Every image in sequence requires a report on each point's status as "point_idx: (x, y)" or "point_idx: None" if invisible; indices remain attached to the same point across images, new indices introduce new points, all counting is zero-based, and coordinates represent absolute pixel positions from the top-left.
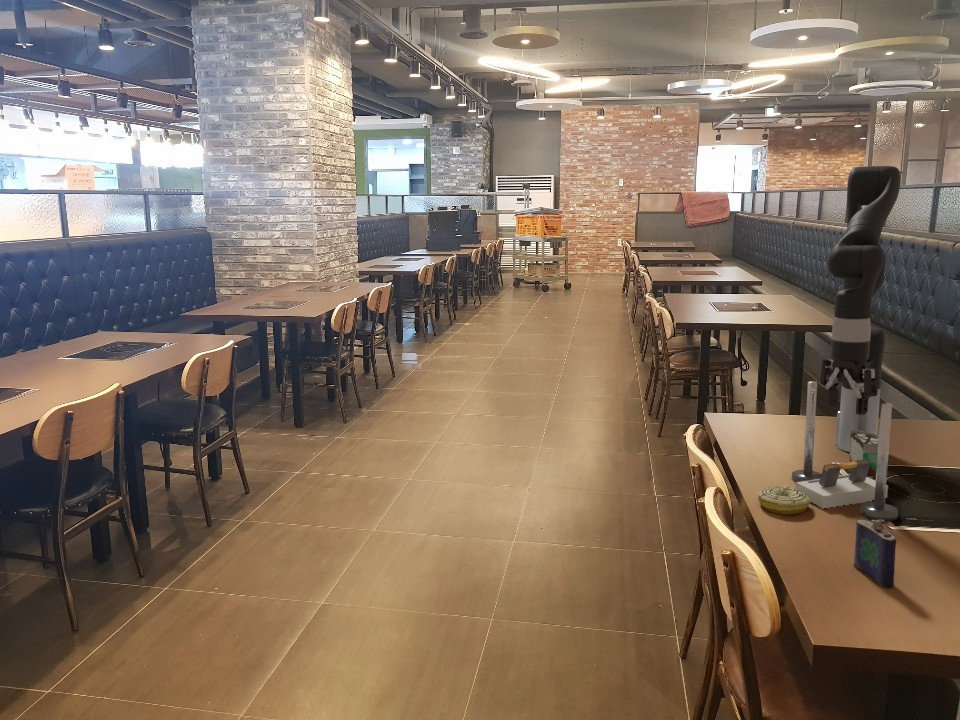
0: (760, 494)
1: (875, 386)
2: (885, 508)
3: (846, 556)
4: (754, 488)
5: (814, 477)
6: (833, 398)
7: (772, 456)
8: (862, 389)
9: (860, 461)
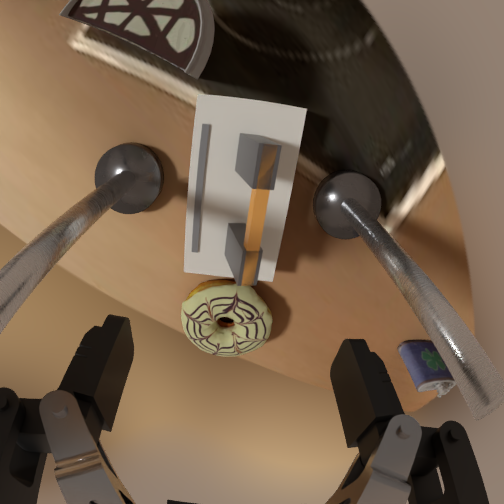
0: (208, 352)
1: (469, 477)
2: (357, 197)
3: (383, 343)
4: (134, 293)
5: (145, 179)
6: (120, 371)
7: (6, 144)
8: (368, 469)
9: (263, 172)
